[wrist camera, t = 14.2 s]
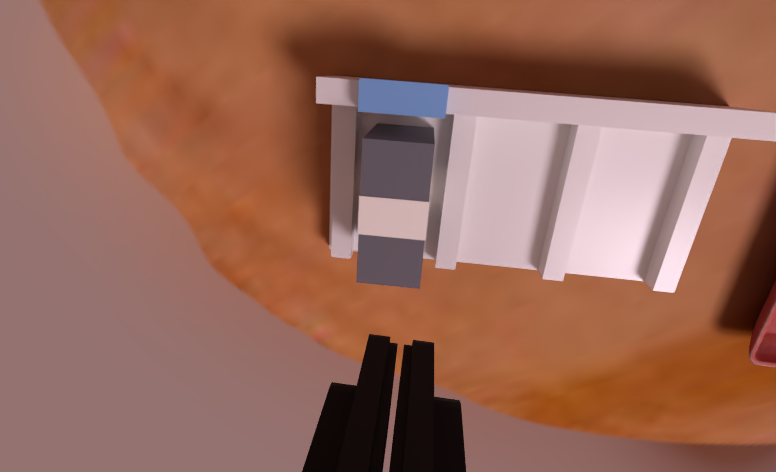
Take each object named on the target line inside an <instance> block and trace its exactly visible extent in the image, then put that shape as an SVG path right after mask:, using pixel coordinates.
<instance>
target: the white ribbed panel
mask: <svg viewBox="0 0 776 472" xmlns="http://www.w3.org/2000/svg"><path fill="white" fill-rule="evenodd" d="M316 103H319V104H331V105H332V127H331V177H330V226H329V248H330V249H331V257H338V258H348V259H351V256H352V254H353V251H358V235H359V234H358V212H359V195H360V187H361V163H362V139H363V137H364V136H365V135H366V134H367V133H368V132H369V131H370V130H371V129H372V128H373V127H374V126H375V125H376V124H377V123H381V124H394V125H406V126H419V127H432V128H434V138H435V148H434V157H433V167H432V176H431V185H430V203H429V213H428V222H427V232H426V241H425V242H424V252H423V258H426V259H435V268H443V269H452V270H455V267H456V262H465V263H475V264H484V265H494V266H504V267H513V268H523V269H532V270H538V272H539V273H540V275H541V277H542V279H548V280H557V281H563V279H564V275H565V273H571V274H581V275H590V276H600V277H610V278H619V279H629V280H638V281H644V282H645V283H646V284H647V285H648V286H649V287H650V288H651V289H652V290H653V291H662V292H672V293H674V292H675V289H676V286H677V284H678V281H679V278H680V276H681V273H682V270H683V268H684V265H685V262H686V260H687V257H688V254H689V251H690V249H691V246H692V243H693V241H694V238H695V235H696V233H697V230H698V227H699V225H700V222H701V219H702V216H703V214H704V211H705V208H706V206H707V203H708V200H709V198H710V195H711V192H712V190H713V187H714V184H715V182H716V179H717V176H718V173H719V171H720V168H721V165H722V163H723V160H724V157H725V155H726V152H727V149H728V147H729V144H730V141H731V138H742V139H754V140H766V141H776V112H770V111H762V110H754V109H746V108H738V107H730V106H717V105H705V104H692V103H679V102H667V101H654V100H641V99H628V98H616V97H603V96H590V95H577V94H565V93H552V92H539V91H527V90H514V89H501V88H488V87H476V86H463V85H450V84H438V83H426V82H413V81H400V80H387V79H375V78H361V77H349V76H336V75H332V76H318V77H316Z"/></svg>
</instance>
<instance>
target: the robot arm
mask: <svg viewBox="0 0 776 472" xmlns="http://www.w3.org/2000/svg"><path fill="white" fill-rule="evenodd" d="M396 353H397V344H396V343H390V337H387V336H380V335H372V334H370V335H369V338H368V342H367V346H366V350H365V354H364V358H363V362H362V367H361V371H360V375H359V379H358V383H357V386H354V385H346V384H340V383H333V382H332V383H331V385H330V388H329V391H328V394H327V397H326V400H325V403H324V406H323V409H322V412H321V415H320V418H319V422H318V424H317V428H316V431H315V434H314V437H313V440H312V443H311V446H310V449H309V452H308V455H307V459H306V461H305V464H304V467H303V471H302V472H382V471H383V463H384V455H385V448H386V440H387V432H388V423H389V415H390V406H391V397H392V389H393V380H394V371H395V362H396ZM389 472H466V464H465V451H464V438H463V425H462V412H461V403H460V401H459V400H454V399H446V398H439V397H434V343H432V342H425V341H417V340H413V344H412V346H411V345H404V351H403V359H402V367H401V376H400V384H399V393H398V400H397V409H396V417H395V425H394V434H393V443H392V453H391V461H390V471H389Z"/></svg>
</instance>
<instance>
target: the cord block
mask: <svg viewBox="0 0 776 472" xmlns="http://www.w3.org/2000/svg"><path fill="white" fill-rule="evenodd" d="M434 148H435V138H434V128H432V127H419V126H406V125H394V124H381V123H377V124H376V125H375V126H374V127H373V128H372V129H371V130H370V131H369V132H368V133H367V134H366V135H365V136H364V137H363V139H362V163H361V187H360V195H359V212H358V234H359V235H358V259H357V282H359V283H369V284H379V285H389V286H398V287H408V288H418V289H420V280H421V271H422V261H423V252H424V242H425V241H426V232H427V222H428V213H429V203H430V185H431V176H432V167H433V157H434Z"/></svg>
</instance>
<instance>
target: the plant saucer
mask: <svg viewBox="0 0 776 472" xmlns="http://www.w3.org/2000/svg"><path fill="white" fill-rule="evenodd" d="M749 358H750V360H751V362H752V363H753V364H757V365H762V366H771V367H776V281H775V283H774V285H773V287H772V289H771V291H770V293H769V295H768V297H767V300H766V302H765V304H764V306H763V308H762V310H761V312H760V315H759V317H758V319H757V321H756V324H755V327H754V330H753V333H752V337H751V341H750V346H749Z"/></svg>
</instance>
